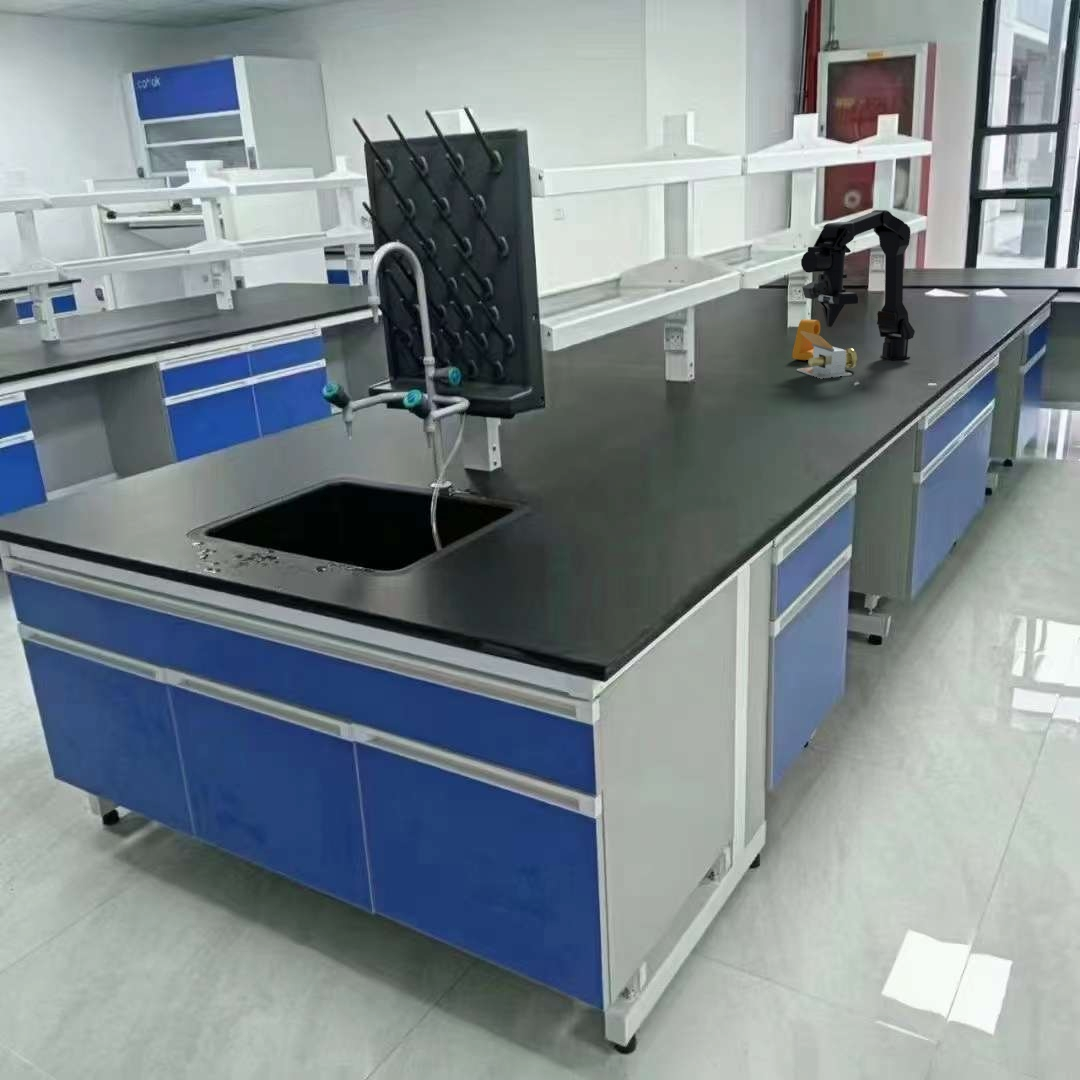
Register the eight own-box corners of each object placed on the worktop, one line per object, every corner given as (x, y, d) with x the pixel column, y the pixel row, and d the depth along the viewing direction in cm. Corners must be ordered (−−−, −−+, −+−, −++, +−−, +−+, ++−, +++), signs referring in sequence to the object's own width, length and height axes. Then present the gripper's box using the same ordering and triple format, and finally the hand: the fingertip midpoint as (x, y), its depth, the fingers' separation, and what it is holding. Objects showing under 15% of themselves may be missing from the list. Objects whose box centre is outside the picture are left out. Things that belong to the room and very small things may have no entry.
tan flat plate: (813, 346, 302) (815, 343, 302) (832, 352, 293) (835, 349, 292) (798, 333, 299) (801, 330, 299) (817, 339, 290) (820, 335, 290)
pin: (845, 365, 304) (847, 346, 302) (856, 369, 299) (857, 349, 297) (804, 370, 301) (805, 351, 299) (815, 373, 296) (815, 354, 294)
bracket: (813, 363, 314) (815, 323, 310) (792, 361, 318) (794, 321, 314) (830, 357, 321) (833, 318, 317) (809, 355, 326) (811, 316, 322)
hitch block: (827, 367, 307) (828, 343, 304) (851, 375, 295) (853, 350, 293) (796, 370, 304) (798, 346, 302) (820, 378, 293) (821, 354, 290)
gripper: (790, 269, 296) (787, 324, 301) (826, 274, 279) (822, 332, 285) (825, 267, 299) (821, 322, 304) (862, 272, 282) (857, 330, 288)
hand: (829, 326), depth 295 cm, fingers closed
